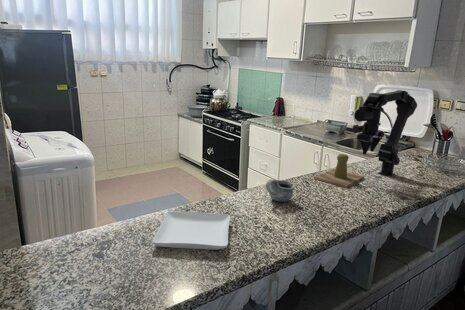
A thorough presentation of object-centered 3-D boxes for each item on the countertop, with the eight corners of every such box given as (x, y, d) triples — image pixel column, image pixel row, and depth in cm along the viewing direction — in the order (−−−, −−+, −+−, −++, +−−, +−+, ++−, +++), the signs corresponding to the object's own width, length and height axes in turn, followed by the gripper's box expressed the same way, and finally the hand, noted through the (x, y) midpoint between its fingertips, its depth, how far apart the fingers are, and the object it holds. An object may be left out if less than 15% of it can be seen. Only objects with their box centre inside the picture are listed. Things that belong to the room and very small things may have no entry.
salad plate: (167, 219, 115) (167, 209, 114) (230, 222, 115) (230, 213, 114) (151, 252, 95) (150, 241, 94) (227, 257, 94) (228, 246, 94)
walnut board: (333, 170, 177) (333, 168, 177) (364, 178, 167) (364, 176, 167) (314, 179, 163) (314, 176, 162) (346, 188, 152) (347, 185, 152)
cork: (349, 177, 164) (352, 155, 161) (342, 179, 160) (345, 156, 158) (338, 173, 169) (341, 152, 166) (331, 175, 165) (333, 153, 162)
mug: (297, 201, 135) (299, 177, 133) (278, 209, 126) (281, 184, 124) (277, 194, 142) (279, 171, 139) (258, 201, 133) (260, 177, 130)
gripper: (363, 116, 172) (359, 146, 176) (348, 119, 158) (343, 152, 162) (386, 119, 164) (381, 151, 168) (372, 123, 151) (367, 157, 155)
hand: (368, 152), depth 164 cm, fingers open, 9 cm apart
